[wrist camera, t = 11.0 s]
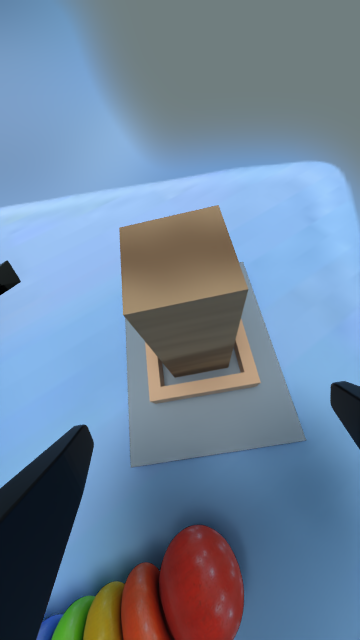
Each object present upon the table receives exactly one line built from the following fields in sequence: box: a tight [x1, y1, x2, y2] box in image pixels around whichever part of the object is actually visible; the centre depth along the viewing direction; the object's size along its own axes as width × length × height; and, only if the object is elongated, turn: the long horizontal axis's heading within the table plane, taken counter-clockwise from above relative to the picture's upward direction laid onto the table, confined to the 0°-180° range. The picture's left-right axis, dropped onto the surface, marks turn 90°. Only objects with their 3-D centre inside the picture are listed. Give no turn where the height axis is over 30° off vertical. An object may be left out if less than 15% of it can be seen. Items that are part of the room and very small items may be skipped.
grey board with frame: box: [125, 262, 306, 467], centre depth 21 cm, size 18×14×3 cm
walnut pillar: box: [119, 205, 248, 378], centre depth 15 cm, size 5×5×13 cm
